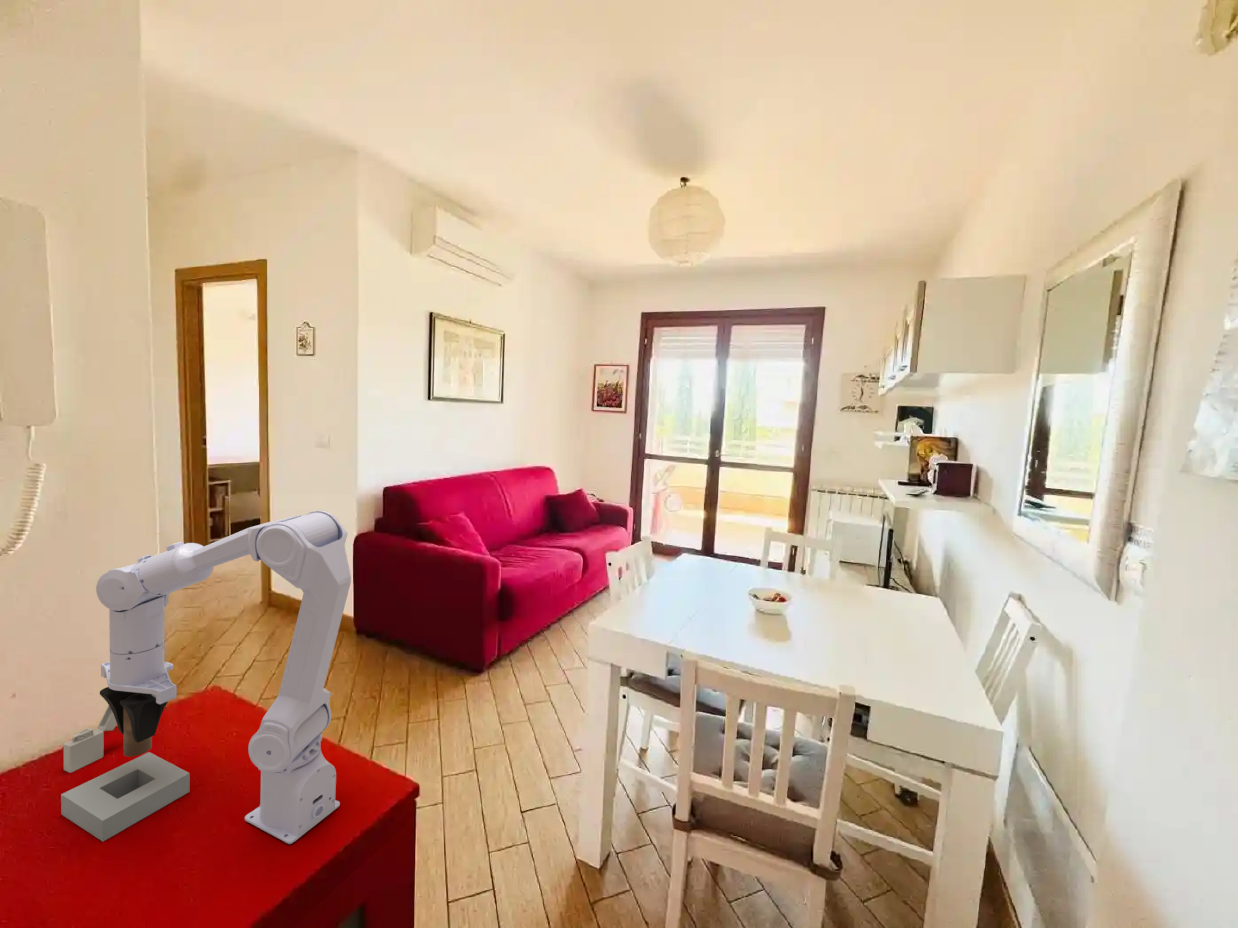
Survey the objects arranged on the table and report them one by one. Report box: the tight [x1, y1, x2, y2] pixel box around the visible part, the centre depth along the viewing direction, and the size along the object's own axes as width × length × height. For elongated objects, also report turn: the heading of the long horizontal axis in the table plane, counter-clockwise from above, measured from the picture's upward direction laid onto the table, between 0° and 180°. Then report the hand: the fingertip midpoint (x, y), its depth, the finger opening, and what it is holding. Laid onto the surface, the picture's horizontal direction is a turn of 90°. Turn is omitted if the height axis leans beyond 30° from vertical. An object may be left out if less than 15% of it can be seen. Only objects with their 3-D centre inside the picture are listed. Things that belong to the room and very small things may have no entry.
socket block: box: [60, 751, 191, 842], centre depth 73 cm, size 10×10×3 cm
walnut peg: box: [123, 693, 153, 758], centre depth 74 cm, size 3×3×8 cm
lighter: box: [63, 705, 117, 773], centre depth 81 cm, size 7×2×8 cm, turn 163°
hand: (138, 734), depth 74 cm, fingers closed on walnut peg, 3 cm apart
